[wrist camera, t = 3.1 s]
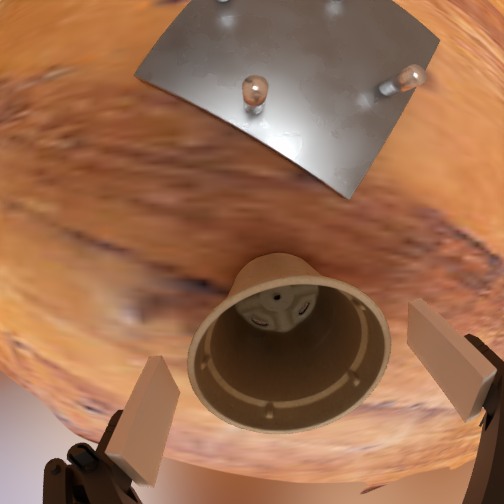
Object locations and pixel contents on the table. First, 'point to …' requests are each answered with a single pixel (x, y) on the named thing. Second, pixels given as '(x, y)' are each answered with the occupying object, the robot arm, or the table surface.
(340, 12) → the plate
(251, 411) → the flower pot
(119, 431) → the robot arm
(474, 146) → the table surface
